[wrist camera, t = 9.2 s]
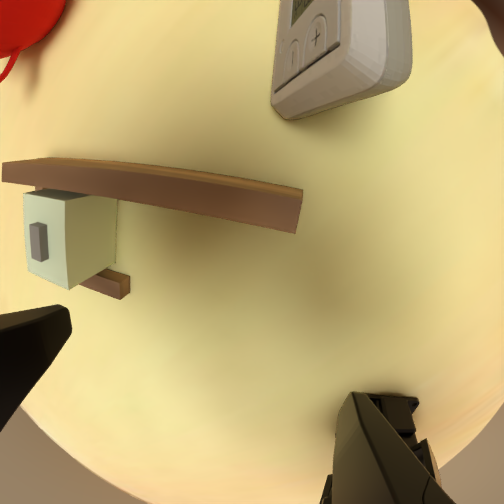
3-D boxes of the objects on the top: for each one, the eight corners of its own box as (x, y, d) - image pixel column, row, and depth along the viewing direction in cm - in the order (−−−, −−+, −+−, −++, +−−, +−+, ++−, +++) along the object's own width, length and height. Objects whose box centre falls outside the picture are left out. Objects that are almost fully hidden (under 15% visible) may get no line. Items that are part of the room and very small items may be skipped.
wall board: (271, 331, 21) (258, 385, 15) (48, 262, 24) (6, 283, 18) (302, 189, 18) (302, 200, 12) (48, 157, 20) (-1, 162, 15)
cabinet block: (116, 262, 22) (61, 294, 15) (75, 249, 22) (20, 274, 16) (119, 190, 20) (55, 203, 14) (75, 183, 21) (15, 195, 14)
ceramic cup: (7, 116, 20) (-61, 119, 11) (22, 9, 16) (-29, -3, 6) (79, 66, 17) (-8, 46, 8) (95, -44, 13) (42, -76, 3)
